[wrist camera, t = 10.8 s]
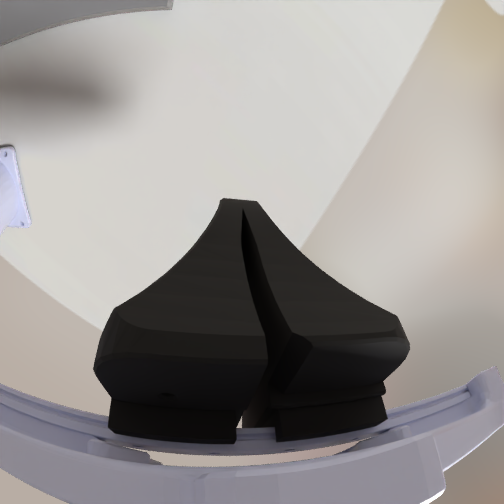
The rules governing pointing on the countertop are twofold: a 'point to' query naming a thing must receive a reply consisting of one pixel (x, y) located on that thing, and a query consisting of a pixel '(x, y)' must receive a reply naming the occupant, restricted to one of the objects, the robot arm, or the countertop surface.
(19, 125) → the countertop surface
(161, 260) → the countertop surface
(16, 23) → the collar board
